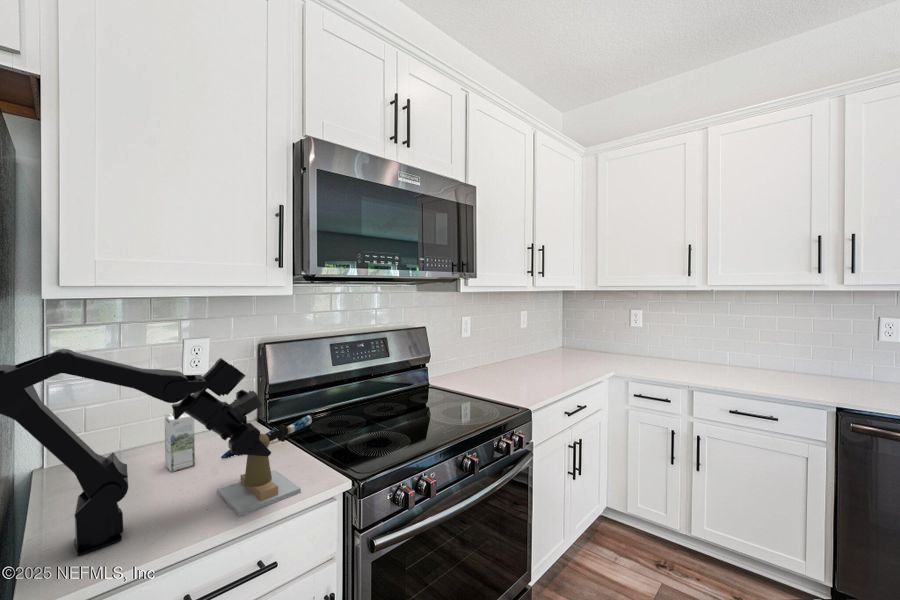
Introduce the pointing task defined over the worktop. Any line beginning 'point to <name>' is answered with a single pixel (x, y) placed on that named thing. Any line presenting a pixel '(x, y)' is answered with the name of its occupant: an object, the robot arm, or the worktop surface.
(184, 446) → the syrup box
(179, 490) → the worktop surface
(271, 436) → the knife
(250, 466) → the olive pepper mill
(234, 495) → the ridge board
